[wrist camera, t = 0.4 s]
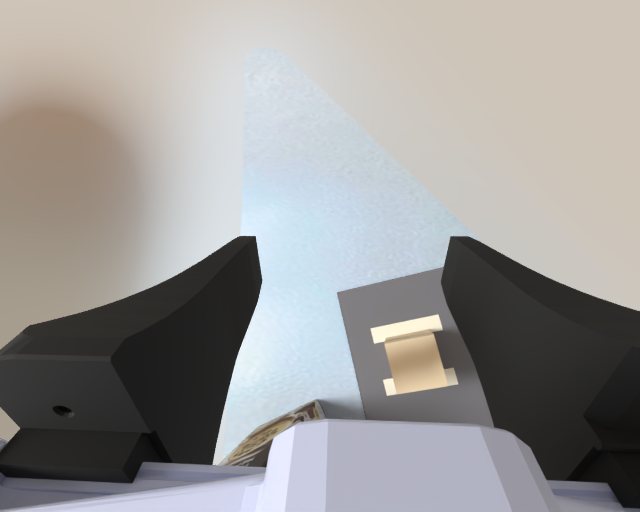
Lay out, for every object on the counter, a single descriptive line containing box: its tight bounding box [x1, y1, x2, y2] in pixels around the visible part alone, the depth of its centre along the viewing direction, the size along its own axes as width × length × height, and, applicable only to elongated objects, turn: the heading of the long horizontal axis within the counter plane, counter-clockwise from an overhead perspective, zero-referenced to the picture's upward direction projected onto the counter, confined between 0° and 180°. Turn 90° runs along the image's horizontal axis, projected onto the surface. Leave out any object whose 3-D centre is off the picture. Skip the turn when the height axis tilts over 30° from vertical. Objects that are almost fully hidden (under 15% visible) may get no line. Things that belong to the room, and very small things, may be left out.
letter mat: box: [337, 267, 494, 428], centre depth 36 cm, size 18×14×1 cm
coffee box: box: [218, 400, 326, 468], centre depth 30 cm, size 9×6×16 cm
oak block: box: [384, 329, 448, 394], centre depth 33 cm, size 5×5×5 cm
